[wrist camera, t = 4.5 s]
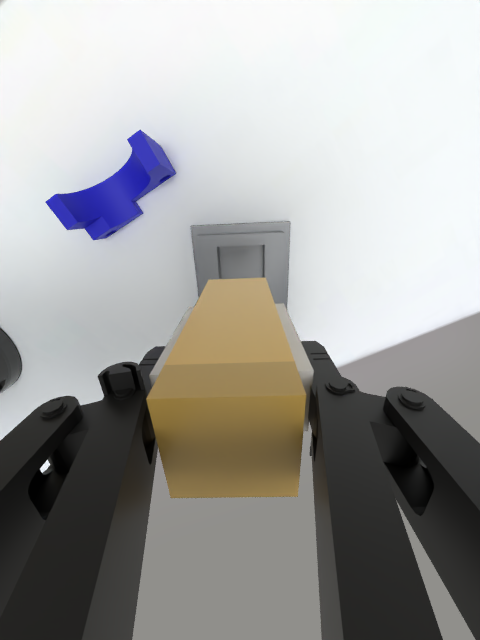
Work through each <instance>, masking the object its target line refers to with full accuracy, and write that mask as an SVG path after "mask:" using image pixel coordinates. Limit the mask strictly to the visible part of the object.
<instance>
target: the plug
mask: <svg viewBox="0 0 480 640" xmlns="http://www.w3.org/2000/svg"><path fill="white" fill-rule="evenodd" d="M146 400H147V404H148V408H149V412H150V416H151V420H152V424H153V428H154V432H155V436H156V440H157V444H158V448H159V452H160V456H161V460H162V464H163V468H164V472H165V476H166V480H167V484H168V488H169V492H170V496H171V498H213V497H215V498H217V497H291V496H292V497H293V496H294V497H296V496H297V497H298V487H299V476H300V464H301V452H302V440H303V428H304V417H305V405H306V393H305V390H304V387H303V384H302V381H301V378H300V375H299V372H298V370H297V367H296V364H295V361H294V358H293V355H292V352H291V349H290V346H289V344H288V341H287V338H286V335H285V332H284V329H283V326H282V323H281V320H280V317H279V315H278V312H277V309H276V306H275V303H274V300H273V297H272V294H271V291H270V288H269V286H268V283H267V280H266V278H239V279H213V280H208V282H207V284H206V286H205V287H204V289H203V291H202V293H201V295H200V297H199V299H198V301H197V303H196V305H195V307H194V309H193V310H192V312H191V314H190V316H189V318H188V320H187V322H186V324H185V326H184V328H183V330H182V332H181V333H180V335H179V337H178V339H177V341H176V343H175V345H174V347H173V349H172V351H171V353H170V354H169V356H168V358H167V360H166V362H165V364H164V366H163V368H162V370H161V372H160V374H159V376H158V377H157V379H156V381H155V383H154V385H153V387H152V389H151V391H150V393H149V395H148V397H147V398H146Z"/></svg>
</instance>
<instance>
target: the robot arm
mask: <svg viewBox="0 0 480 640" xmlns="http://www.w3.org/2000/svg"><path fill="white" fill-rule="evenodd" d="M275 306H276V309H277V312H278V315H279V317H280V320H281V323H282V326H283V329H284V332H285V335H286V338H287V341H288V344H289V346H290V349H291V352H292V355H293V358H294V361H295V364H296V367H297V370H298V372H299V375H300V378H301V381H302V384H303V387H304V390H305V393H306V405H305V417H304V428H303V431H308V425H309V422H310V425H311V428H312V437H311V446H310V456H312V467H313V486H314V504H315V521H316V538H317V539H316V541H317V559H318V577H319V596H320V613H321V632H322V640H443V639H442V636H441V633H440V630H439V627H438V624H437V621H436V618H435V615H434V612H433V609H432V606H431V603H430V600H429V597H428V594H427V591H426V588H425V585H424V582H423V579H422V576H421V573H420V570H419V568H418V564H417V561H416V558H415V555H414V552H413V549H412V547H411V543H410V541H409V538H408V535H407V532H406V529H405V526H404V523H403V520H402V517H401V514H400V511H399V508H398V505H397V502H398V503H399V505H400V507H401V509H402V510H403V512H404V514H405V516H406V518H407V520H408V521H409V523H410V525H411V526H412V528H413V530H414V532H415V533H416V535H417V537H418V539H419V541H420V542H421V544H422V546H423V548H424V549H425V551H426V553H427V555H428V557H429V558H430V560H431V562H432V563H433V565H434V567H435V569H436V571H437V572H438V574H439V576H440V578H441V579H442V581H443V583H444V585H445V586H446V588H447V590H448V592H449V593H450V595H451V597H452V599H453V600H454V602H455V604H456V606H457V607H458V609H459V611H460V613H461V614H462V616H463V618H464V620H465V622H466V623H467V625H468V627H469V629H470V630H471V632H472V634H473V636H474V637H475V639H476V640H480V444H479V443H478V442H477V441H476V440H475V439H474V438H473V437H472V436H471V435H470V434H469V433H468V432H467V431H466V430H465V429H463V428H462V427H461V426H460V425H459V424H458V423H457V422H456V421H455V420H454V419H453V418H452V417H451V416H450V415H449V414H447V413H446V412H445V411H444V410H443V409H442V408H441V407H440V406H439V405H438V404H437V403H436V402H434V400H433V399H431V398H430V397H428V396H427V395H426V394H424V393H422V392H419V391H417V390H415V389H411V388H407V387H394V388H391V389H389V390H388V391H387V394H386V397H382V396H377V395H371V394H367V393H363V392H360V391H359V389H358V388H357V386H356V385H355V384H354V383H353V382H352V381H350V380H348V379H346V378H344V377H341V375H340V373H339V372H338V370H337V368H336V366H335V365H334V363H333V361H332V360H331V358H330V356H329V355H328V354H327V351H326V350H325V348H324V346H322V345H321V344H319V343H318V342H316V341H300V339H299V337H298V334H297V332H296V330H295V328H294V325H293V323H292V321H291V319H290V316H289V314H288V312H287V310H286V307H285V305H284V303H283V304H275ZM193 309H194V307H189V308H188V309H187V311H186V313H185V314H184V316H183V318H182V320H181V321H180V323H179V325H178V327H177V328H176V330H175V332H174V333H173V335H172V337H171V339H170V340H169V342H168V344H167V345H166V346H161V347H154V348H153V349H151V350H150V351H149V352H147V354H146V355H145V356H144V358H143V360H142V361H141V362H140V364H139V365H138V364H137V363H133V362H123V363H118V364H115V365H112V366H110V367H108V368H106V369H105V370H103V371H102V372H101V373H100V374H99V375H98V378H99V381H100V384H101V387H102V390H103V393H104V398H103V400H101V401H98V402H94V403H90V404H86V405H81V406H80V404H79V402H78V400H77V399H76V398H75V397H72V396H63V397H58V398H55V399H52V400H50V401H48V402H46V403H44V404H42V405H41V406H39V407H38V408H37V409H35V410H34V411H33V412H32V413H31V414H30V415H28V416H27V417H26V418H25V419H24V420H23V421H22V422H21V423H20V424H19V425H17V426H16V427H15V428H14V429H13V430H12V431H11V432H10V433H9V434H7V435H6V436H5V437H4V438H3V439H2V440H1V441H0V640H132V636H133V628H134V621H135V614H136V606H137V599H138V591H139V584H140V576H141V569H142V561H143V554H144V547H145V539H146V532H147V524H148V517H149V510H150V502H151V494H152V487H153V480H154V472H155V465H156V458H157V450H158V444H157V440H156V436H155V432H154V428H153V424H152V420H151V416H150V412H149V408H148V404H147V400H146V398H147V397H148V395H149V393H150V391H151V389H152V387H153V385H154V383H155V381H156V379H157V377H158V376H159V374H160V372H161V370H162V368H163V366H164V364H165V362H166V360H167V358H168V356H169V354H170V353H171V351H172V349H173V347H174V345H175V343H176V341H177V339H178V337H179V335H180V333H181V332H182V330H183V328H184V326H185V324H186V322H187V320H188V318H189V316H190V314H191V312H192V310H193ZM20 372H21V361H20V357H19V354H18V352H17V349H16V348H15V346H14V344H13V343H12V341H11V340H10V339H9V338H8V336H7V335H6V334H5V333H4V332H3V331H2V330H1V329H0V393H2V392H3V391H4V390H6V389H7V388H8V387H10V386H11V385H13V384H14V383H15V382H16V381H17V379H18V378H19V375H20ZM47 459H48V461H49V463H50V466H49V467H48V469H47V470H46V471H44V472H43V473H41V471H40V468H41V466H42V465H43V464H44V463H45V462H46V460H47ZM395 498H396V499H395ZM396 500H397V502H396Z"/></svg>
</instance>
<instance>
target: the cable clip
mask: <svg viewBox="0 0 480 640" xmlns="http://www.w3.org/2000/svg"><path fill="white" fill-rule="evenodd" d="M127 140H128V142H129V144H130V145H131V147H132V154H131V156H130V158H129V160H128V161H127V163H126V164H125V165H124V166H123V167H122V168H121V169H120V170H119V171H118V172H116V173H115V174H114V175H113V176H111V177H110V178H108V179H106V180H105V181H103V182H101V183H99V184H97V185H95V186H93V187H90V188H88V189H85V190H82V191H78V192H74V193H68V194H55V195H54V196H53V197H51V198H50V199H49V200H47V201H46V203H47V205H48V206H49V207H50V209H51V210H52V211H53V212H54V214H55V215H56V216H57V218H58V219H59V220H60V221H61V223H62V224H63V225H64V227H65V228H66V229H67V230H72V229H83V228H85V230H86V231H87V232H88V234H89V235H90V236H91V238H92V239H93V240H98V239H104V238H107V237H109V236H110V235H112V234H113V233H115V232H116V231H118V230H119V229H120V228H122V227H123V226H125V225H126V224H128V223H129V222H131V221H132V220H134V219H135V218H137V217H138V216H140V215H141V214H143V212H142V211H141V209H140V208H139V206H138V204H137V203H136V201H137V200H138V199H140V198H141V197H143V196H144V195H146V194H147V193H148V192H150V191H151V190H153V189H154V188H156V187H157V186H159V185H160V184H161V183H163V182H164V181H166V180H167V179H169V178H170V177H172V176H173V175H175V174H176V172H175V170H174V169H173V167H172V165H171V163H170V162H169V160H168V158H167V156H166V155H165V153H164V151H163V149H162V148H161V146H160V145H159V144H157V143H156V142H155V141H154V140H152V139H151V138H150V137H149V136H147V135H146V134H145V133H144V132H142V131H141V130H139V131H138V132H136V133H135V134H134V135H132V136H131V137H130V138H128V139H127Z"/></svg>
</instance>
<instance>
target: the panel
mask: <svg viewBox="0 0 480 640" xmlns="http://www.w3.org/2000/svg"><path fill="white" fill-rule="evenodd" d="M191 234H192V243H193V252H194V260H195V269H196V278H197V287H198V295H199V297H200V295H201V293H202V291H203V289H204V287H205V286H206V284H207V282H208V280H213V279H239V278H266V280H267V283H268V286H269V288H270V291H271V294H272V297H273V300H274V303H275V304H283V303H284V305H285V307H286V310H287V297H288V270H289V244H290V222H289V221H287V222H265V223H242V224H220V225H197V226H191Z"/></svg>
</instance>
